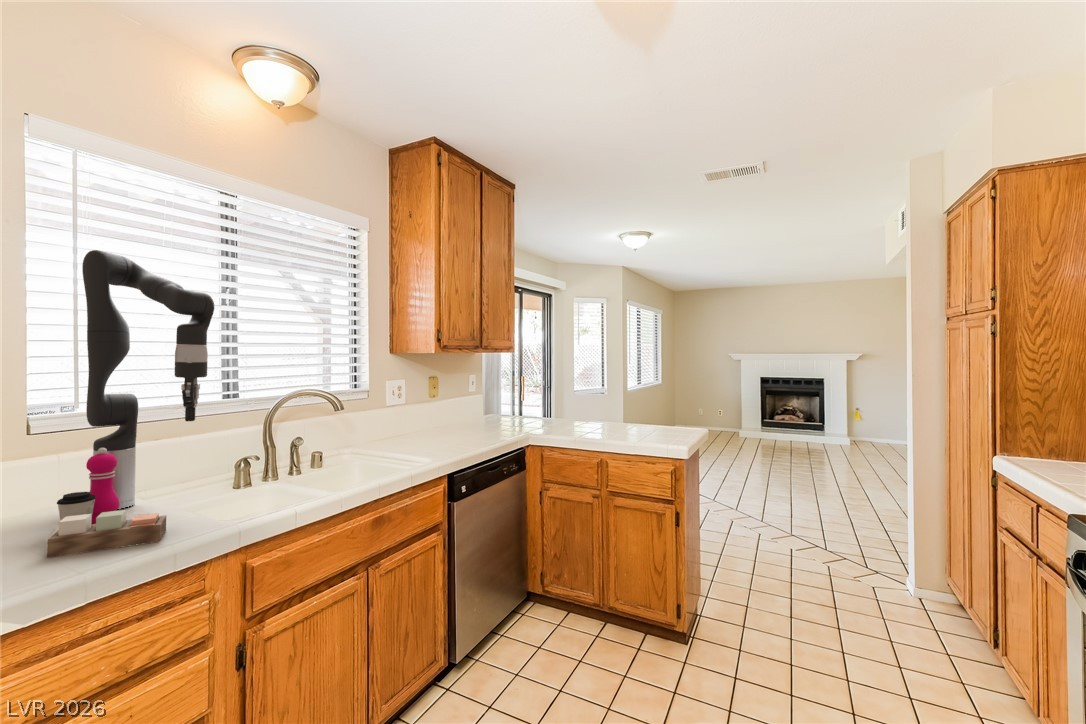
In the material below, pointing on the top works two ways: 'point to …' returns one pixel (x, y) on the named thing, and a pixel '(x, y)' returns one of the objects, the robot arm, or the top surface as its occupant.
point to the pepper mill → (102, 483)
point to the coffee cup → (76, 504)
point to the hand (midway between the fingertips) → (190, 420)
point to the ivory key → (75, 524)
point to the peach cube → (145, 519)
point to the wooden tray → (105, 538)
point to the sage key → (111, 520)
